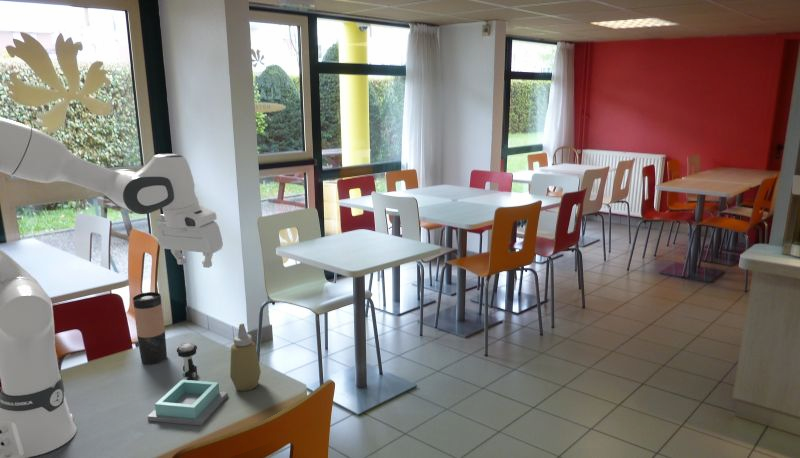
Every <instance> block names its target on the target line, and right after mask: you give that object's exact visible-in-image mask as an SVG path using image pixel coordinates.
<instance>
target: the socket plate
mask: <svg viewBox="0 0 800 458" xmlns="http://www.w3.org/2000/svg"><path fill="white" fill-rule="evenodd" d="M228 395H229V394H228V391H220V384H219V382H216V381H203V380H194V379H192V380H183V379H181V380H179V382H177V383H176V384H175V385H174V386H172V388H171V389H170V390H169V391H168V392H167V393H165V394H164V395H163V396H161V398H160V399H158V401H156V402H155V403H154V407H155V409H153V411H152V412H150V414H148V415H147V421H148V422H160V423H168V424H169V423H170V424H179V425H181V424H182V425H192V426H202V425H204V423H205V422H206V421H207V420H209V418H210V416H211V415H212V414H213V413H214V412H215V411H216V410H217V409H218V408H219V406H220V405H221V404H222V403H223V402H224V401H225V400H226V399H227V397H228Z"/></svg>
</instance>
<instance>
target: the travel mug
mask: <svg viewBox="0 0 800 458" xmlns="http://www.w3.org/2000/svg"><path fill="white" fill-rule="evenodd" d="M132 303H133V311H134V319H135V329H136V336H137V342H138V350H139V354H140V355H139V356H140V361H141V363H142V364H145V365H156V364H160V363H162V362H164V361H165V360H166V359H167V358H168V357H167V356H168V355H167V354H168V352H167V341H166V327H165V321H164V312H163V304H162V303H163V302H162V296H161V293H159V292H157V291H156V292H155V291H154V292H153V291H152V292H150V291H149V292H142V293H138V294H136V295H135V296H133V297H132Z"/></svg>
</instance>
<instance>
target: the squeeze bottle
mask: <svg viewBox="0 0 800 458" xmlns="http://www.w3.org/2000/svg"><path fill="white" fill-rule="evenodd" d="M238 325H239V326H238V330H237V331H238V332H237V335H236V336H234V337H233V344H232V345H231V346H230V366H229V367H230V368H229V369H230V373H229V375H230V377H229V378H230V379H231V382H232V383H233V386H234V387H235V389H236V390H237V391H240V392H241V391H251V390H252V389H255V388H256V387H257V386H258V384H259V380H260V376H261V373H262V372H261V366H260V360H259V356H258V351H257V345H256V343H255V342H254V341H253V339H252V338H253V337H252V335H251V334H249V333H248V332H247V329H246V327H245V323H240V324H238Z"/></svg>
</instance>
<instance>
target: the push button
mask: <svg viewBox="0 0 800 458" xmlns="http://www.w3.org/2000/svg"><path fill="white" fill-rule="evenodd" d="M197 350H198V346H197V345H196V344H194V343H193V342H190V341H189V342H184V343H181V344H180V345H179V346H178V347H177V348H176V353H177V355H178V357H180V358H182V359H183V365H182V370H183V373H182V378H183V379H182V380H194V379H195V378H196V377H197V375H198V367H197V365H195V364H194V361H193V356H195V355H196V354H197Z"/></svg>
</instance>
